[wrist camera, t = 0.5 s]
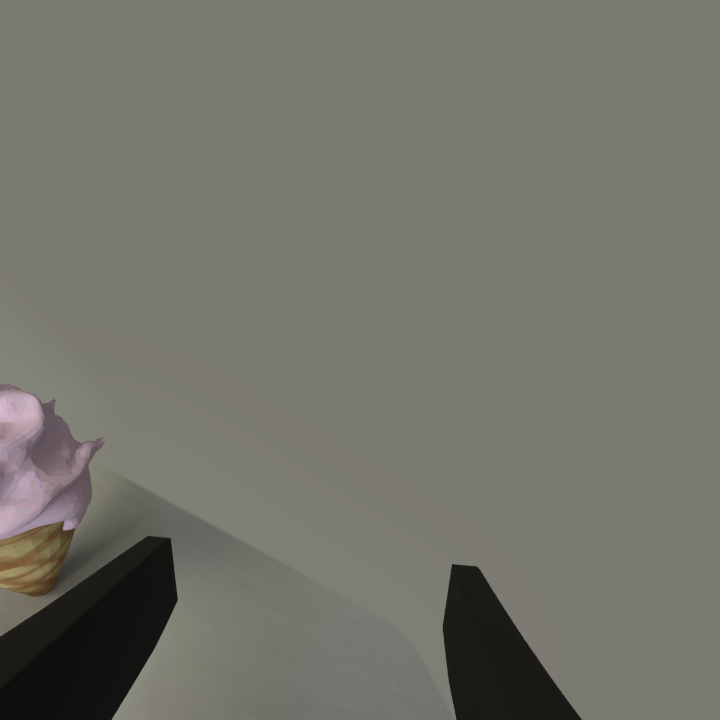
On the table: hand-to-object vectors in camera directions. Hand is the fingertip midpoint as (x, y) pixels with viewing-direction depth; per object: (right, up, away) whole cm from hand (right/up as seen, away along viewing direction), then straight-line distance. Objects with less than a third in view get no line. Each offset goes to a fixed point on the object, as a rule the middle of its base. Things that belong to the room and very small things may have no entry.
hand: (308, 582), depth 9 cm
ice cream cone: (-18, -8, +12) cm, 23 cm away
